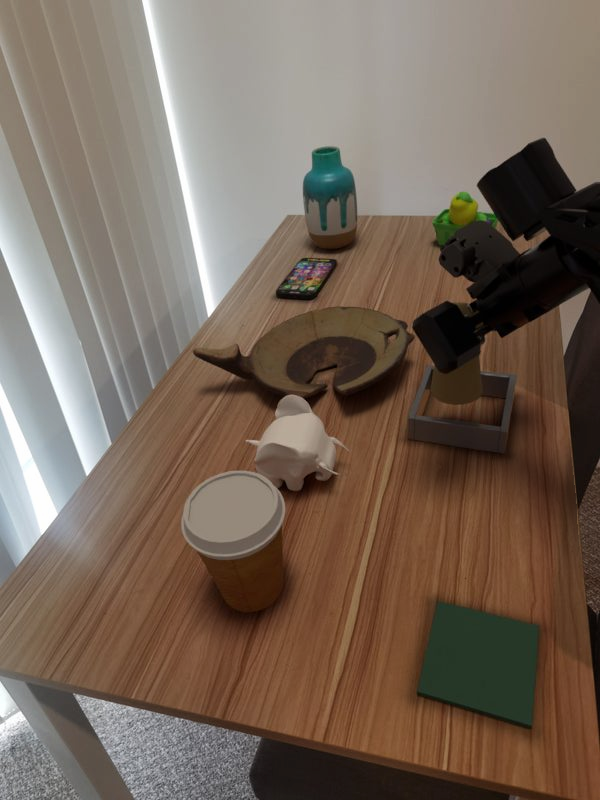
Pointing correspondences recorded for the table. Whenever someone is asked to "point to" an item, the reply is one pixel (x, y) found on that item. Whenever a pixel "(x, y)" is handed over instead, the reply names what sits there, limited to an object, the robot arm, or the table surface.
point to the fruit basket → (459, 217)
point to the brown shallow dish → (319, 351)
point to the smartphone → (306, 278)
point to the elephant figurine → (295, 446)
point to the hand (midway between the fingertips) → (448, 338)
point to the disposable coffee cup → (238, 536)
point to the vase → (330, 200)
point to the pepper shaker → (459, 377)
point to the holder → (458, 430)
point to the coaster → (481, 663)
